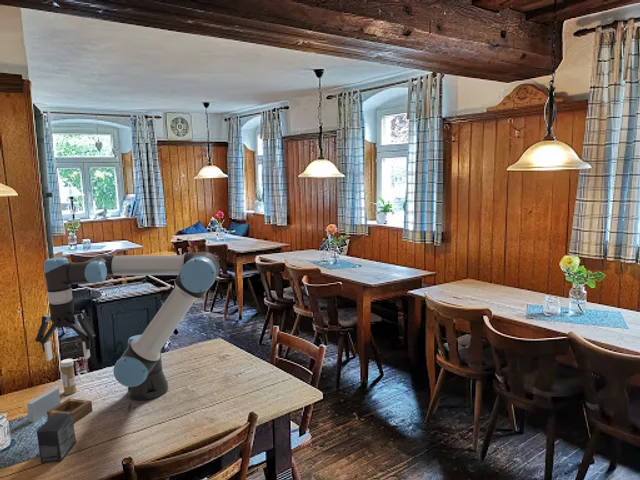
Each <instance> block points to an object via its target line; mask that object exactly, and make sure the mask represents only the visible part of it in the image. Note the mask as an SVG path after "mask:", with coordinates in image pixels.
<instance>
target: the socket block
mask: <svg viewBox="0 0 640 480" xmlns="http://www.w3.org/2000/svg"><path fill="white" fill-rule="evenodd" d="M92 412H93V404H92V400H86V399H76V398H67V399H65V400H64V401H62V402H61V403H60V404H59V405H57V406H56V407H54V408H52V409H51V410H49V411H47V415H46V417H47V420H48V419H49V418H50V417H51V416H52V415H53V414H61V413H72V415H73V423H74V425H75V424H77V423H78V422H79V421H81V420H82V419H84V418H85V417H86V416H88V415H89V414H91V413H92Z"/></svg>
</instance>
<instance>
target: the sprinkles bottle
mask: <svg viewBox="0 0 640 480" xmlns="http://www.w3.org/2000/svg"><path fill="white" fill-rule="evenodd" d="M59 363H60V365H59V366H60V368H61V378H62V379H61V380H62V386H63V394H64V395H67V396H68V395H72V394H75V393H77V386H76V377H75V376H76V375H75V369H74V359H73V358H66V359H63V360H61V361H59Z"/></svg>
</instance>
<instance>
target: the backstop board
mask: <svg viewBox="0 0 640 480" xmlns="http://www.w3.org/2000/svg"><path fill="white" fill-rule="evenodd" d="M60 403H62V402H61V395H60V388H58V387H53V388H52V389H50V390H48V391H46V392H45V393H43V394H42V395H39V396H38V397H36V398H34V399H32V400H30V401H29V402H27V403H26V405H27V414H28V420H29V423H35V422H38V421H39V420H40V419H43V417H45V416H47V411H49V410H51V409H52V408H54V407H56V406H57V405H59V404H60Z"/></svg>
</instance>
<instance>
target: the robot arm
mask: <svg viewBox="0 0 640 480" xmlns="http://www.w3.org/2000/svg"><path fill="white" fill-rule="evenodd" d="M43 268H44V269H43V273H44V278H45V284H46V293H47V301H48V303H49V304H48V307H49V313H50V315H49V314H45V315H43V316H41V324H40V326H39V329H38V331H37V332H38V333H37V335H36V337H35V342H36V343H41V348H42V351H43V352H44V354H45V361H46V362H50V361H51V360H52V359H53V357H54V356H53V349H52V342H51V340H50V338H51V336H53V334H54V332H55V331H56V330H57V329H62V328H69V329H71V330H72V331H74V332H75V333H76V334H77V335H78V336H79V337H80V338H81V339H82V340H83V341H82V342H81V343H82V350H83V356H84V357H83V358H84V360H88V359H89V358H90V357H91V351H90V349H92V341H91V340H93V339H94V338H95V337H96V336H97V335H96V333H95V332H94V330H93V329H92V327H91V326H90V324H89V322H88V321H87V320H86V318H85V313H84V312H80V313H78V314H75V305H74V300H73V299H74V298H73V289H72V285H81V284H96V283H103V282H104V281H105V280H106V278H107V276H177V277H175V279H174V288H173V289H172V291H171V293H170V294H169V295H168V297H167V298H166V300H165V301H164V302H163V304H162V306H161V307H160V308H159V310H158V311H157V312H156V314H155V316H154V317H153V318H152V320H151V321H150V322H149V324H148V325H147V327H146V328H145V329H144V331H143V333H142V334H136V335H133V336H130V337H129V338H128V340H127V348H126V349H125V350H124V352H123V354H122V355H121V356H120V358H119V359H117V360H116V362H115V364H114V366H113V375H114V379H115V380H116V381H117V383H119V384H120V385H122V386H124V387H126V388H127V396H128V398H129V399H131V400H134V401H135V400H136V401H148V400H152V399H153V400H154V399H155V398H158V397H160V396H163V395H164V394H166V392H167V391H168V390H169V383H168V382H169V381H168V380H167V378H166V376H165V373H164V371H163V364H162V363H163V362H162V349H163V347H164V346H165V344H166V343H167V342H168V340H170V339H169V338H170V337H171V335H172V334H174V331H175V330H176V329H177V328H178V326H179V324H180V323H181V321H183V319H184V317H185V316H186V314H187V313H188V311H189V310H190V309H191V307H192V306H193V305H194V303H195V302H196V301H197V300H201V299H203V297H205V295H206V293H207V292H208V291H209V289H210V288H211V287H213V285H214V283H215V282H216V279H217V277H218V275H219V274H220V271H221V264H220V260H219V258H218V257H217V256H216V255H215V254H213V253H211V252H208V251H197V252H196V251H195V252H184V253H183V254H182V255H179V254H178V255H177V254H176V255H175V254H174V255H173V254H172V255H171V254H169V255H166V254H165V255H110V254H108V253H102V254H98V255H95V257H92V258H90V259H88V260H86V261H83V262H82V261H81V262H80V261H79V262H69V259H68V258H67V257H65V256H63V257H62V256H59V257H58V256H57V257H51V258H48V259H45V260H44V261H43ZM75 319H76V320H75ZM50 321H51V322H52V324H51V325H50V327H49V329H48V328H47V327H48V325H49V323H50ZM77 321H78V322H77ZM46 331H47V332H46Z"/></svg>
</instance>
